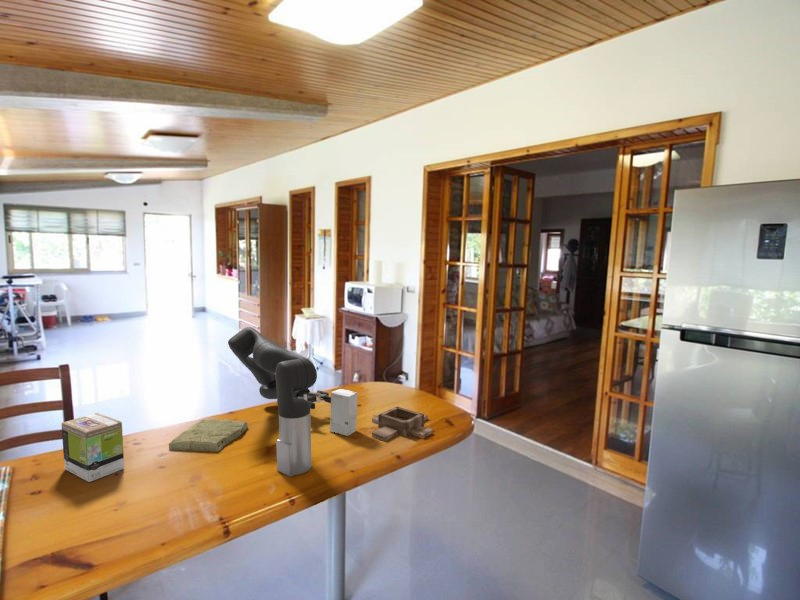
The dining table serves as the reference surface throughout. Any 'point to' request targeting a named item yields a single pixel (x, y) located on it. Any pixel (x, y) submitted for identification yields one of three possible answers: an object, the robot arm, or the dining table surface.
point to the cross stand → (400, 424)
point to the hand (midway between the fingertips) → (323, 403)
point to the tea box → (93, 446)
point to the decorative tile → (208, 435)
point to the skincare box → (343, 412)
